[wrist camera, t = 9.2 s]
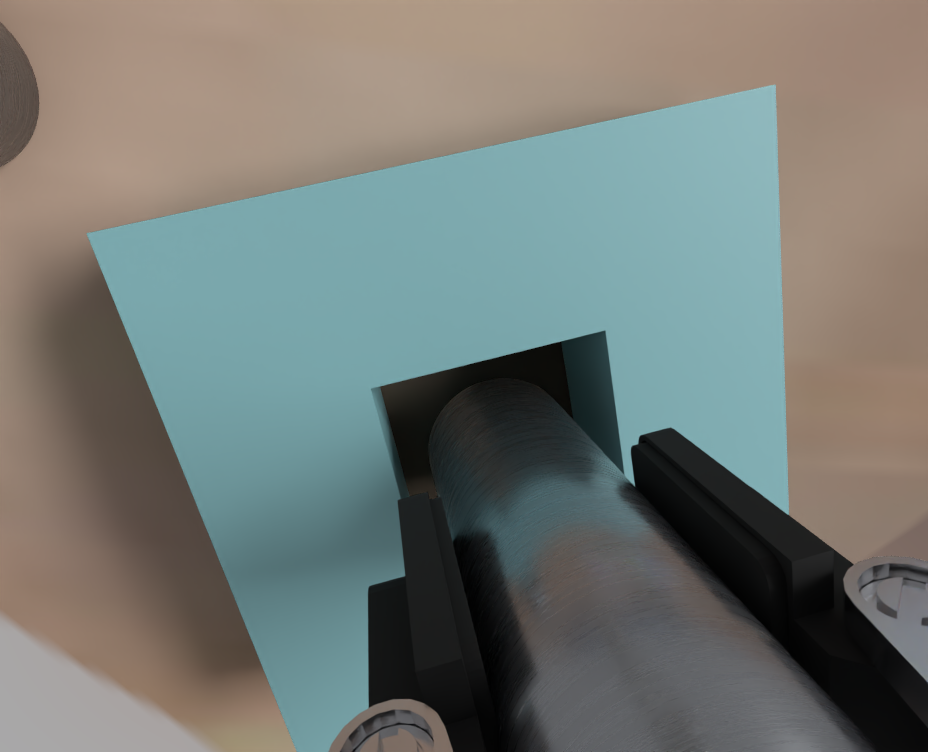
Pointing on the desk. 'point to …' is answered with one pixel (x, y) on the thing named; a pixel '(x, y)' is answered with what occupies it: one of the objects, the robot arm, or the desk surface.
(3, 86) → the short pin
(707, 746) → the tall pin
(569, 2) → the desk surface
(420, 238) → the hole plate
